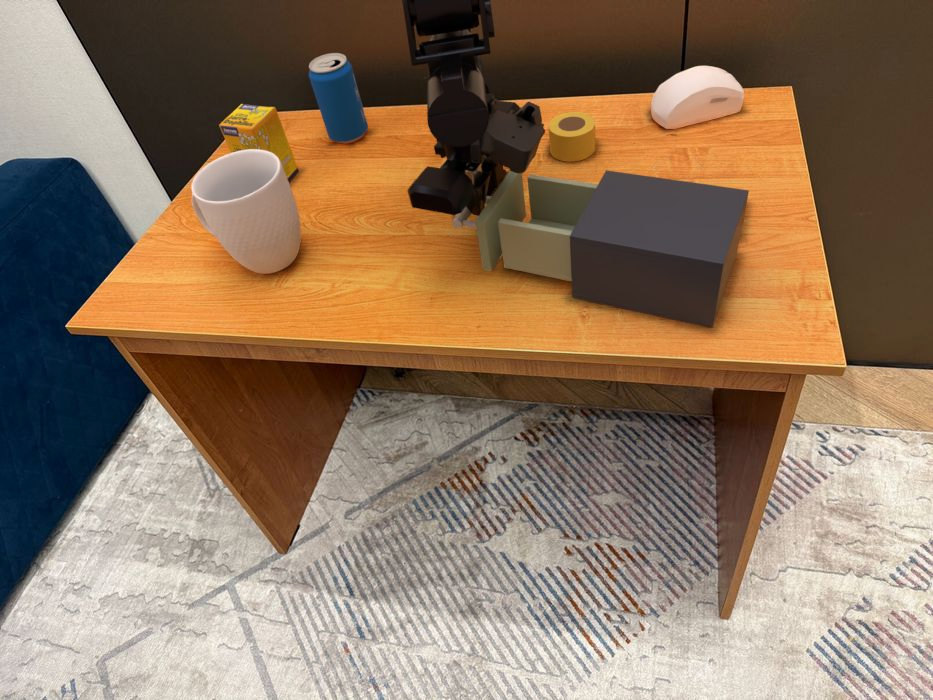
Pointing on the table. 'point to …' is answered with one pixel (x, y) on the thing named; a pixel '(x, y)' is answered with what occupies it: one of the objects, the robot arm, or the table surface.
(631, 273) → the cabinet
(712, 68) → the computer mouse
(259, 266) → the mug
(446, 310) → the table surface
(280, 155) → the supplement box
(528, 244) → the drawer
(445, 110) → the robot arm
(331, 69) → the beverage can
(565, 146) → the tape
